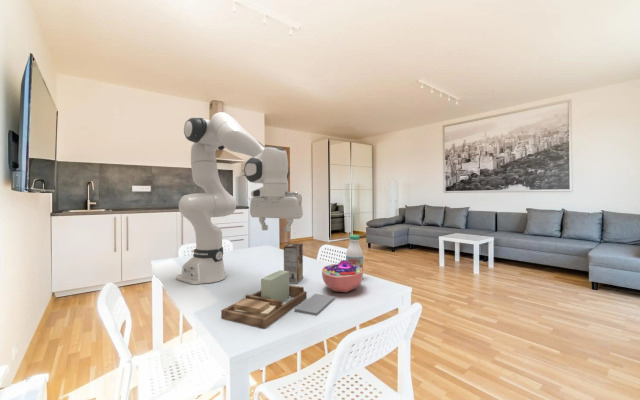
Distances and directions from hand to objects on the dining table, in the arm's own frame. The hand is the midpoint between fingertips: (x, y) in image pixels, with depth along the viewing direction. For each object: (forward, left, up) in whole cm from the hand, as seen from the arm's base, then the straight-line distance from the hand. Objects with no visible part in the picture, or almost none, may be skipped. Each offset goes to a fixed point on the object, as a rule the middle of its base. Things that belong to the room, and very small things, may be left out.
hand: (275, 230), depth 101 cm
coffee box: (-7, +25, -26) cm, 37 cm away
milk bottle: (+17, +39, -26) cm, 50 cm away
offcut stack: (0, -12, -26) cm, 29 cm away
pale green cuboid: (0, 0, -26) cm, 26 cm away
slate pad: (+14, +4, -26) cm, 29 cm away
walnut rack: (0, -5, -26) cm, 26 cm away
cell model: (+17, +23, -26) cm, 39 cm away
